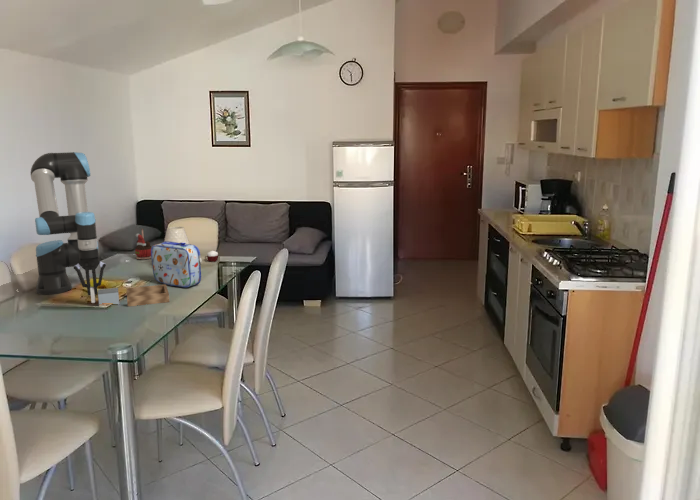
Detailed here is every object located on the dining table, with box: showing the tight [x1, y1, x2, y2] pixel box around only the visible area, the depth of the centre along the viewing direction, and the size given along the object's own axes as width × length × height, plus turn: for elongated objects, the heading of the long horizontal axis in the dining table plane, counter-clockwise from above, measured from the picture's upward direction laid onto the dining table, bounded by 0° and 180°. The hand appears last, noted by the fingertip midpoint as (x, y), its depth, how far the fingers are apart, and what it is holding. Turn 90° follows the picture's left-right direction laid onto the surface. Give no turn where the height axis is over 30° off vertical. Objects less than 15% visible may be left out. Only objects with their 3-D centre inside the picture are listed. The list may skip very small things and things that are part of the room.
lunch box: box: [150, 241, 203, 288], centre depth 275 cm, size 28×10×22 cm, turn 62°
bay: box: [125, 284, 170, 307], centre depth 252 cm, size 17×16×4 cm
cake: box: [134, 228, 152, 260], centre depth 335 cm, size 11×9×18 cm
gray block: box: [97, 287, 120, 305], centre depth 246 cm, size 8×6×6 cm
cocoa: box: [204, 239, 221, 263], centre depth 327 cm, size 10×6×12 cm, turn 93°
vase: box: [163, 226, 191, 244], centre depth 307 cm, size 18×17×23 cm
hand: (93, 301), depth 244 cm, fingers closed
